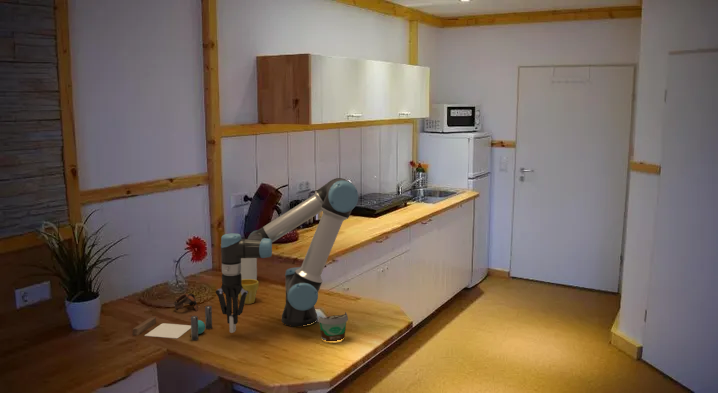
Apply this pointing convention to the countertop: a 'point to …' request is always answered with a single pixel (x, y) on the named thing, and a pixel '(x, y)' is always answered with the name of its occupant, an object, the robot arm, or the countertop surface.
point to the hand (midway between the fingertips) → (232, 331)
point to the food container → (333, 327)
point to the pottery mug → (186, 301)
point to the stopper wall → (144, 326)
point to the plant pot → (249, 290)
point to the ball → (201, 326)
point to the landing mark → (169, 330)
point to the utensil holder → (249, 268)
